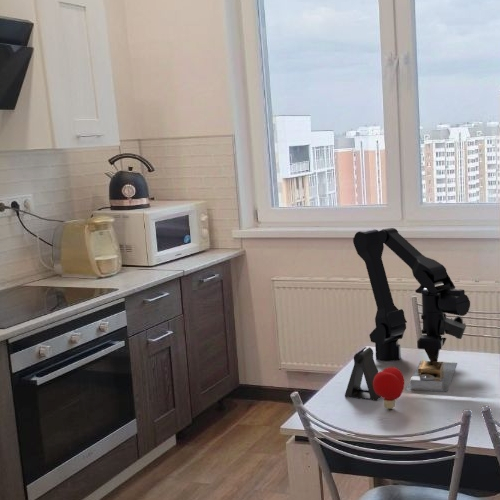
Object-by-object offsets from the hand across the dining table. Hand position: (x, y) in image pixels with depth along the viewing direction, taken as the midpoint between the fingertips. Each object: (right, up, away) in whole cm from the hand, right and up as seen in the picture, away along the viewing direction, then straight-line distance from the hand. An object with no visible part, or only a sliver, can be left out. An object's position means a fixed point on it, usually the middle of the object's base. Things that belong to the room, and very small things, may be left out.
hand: (434, 365), depth 207 cm
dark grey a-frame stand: (-21, -6, -13) cm, 25 cm away
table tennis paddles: (-17, -7, -24) cm, 30 cm away
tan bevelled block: (-3, -3, -7) cm, 8 cm away
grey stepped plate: (-1, -3, -4) cm, 5 cm away
